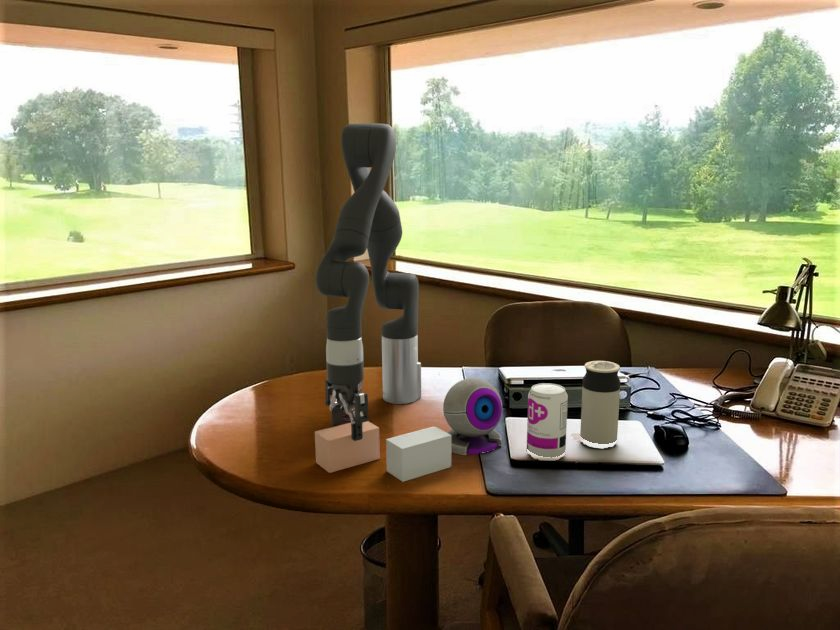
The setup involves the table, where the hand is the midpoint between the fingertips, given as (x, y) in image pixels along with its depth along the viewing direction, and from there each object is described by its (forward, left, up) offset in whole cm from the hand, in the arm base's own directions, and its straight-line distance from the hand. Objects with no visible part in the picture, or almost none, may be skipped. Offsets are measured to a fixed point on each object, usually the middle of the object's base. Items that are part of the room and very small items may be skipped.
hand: (346, 433), depth 153 cm
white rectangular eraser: (-10, +12, -6) cm, 17 cm away
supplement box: (-8, -14, -7) cm, 18 cm away
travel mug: (-50, +24, -7) cm, 56 cm away
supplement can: (-36, +22, -7) cm, 43 cm away
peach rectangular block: (0, 0, -6) cm, 6 cm away
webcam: (-27, +8, -7) cm, 29 cm away
